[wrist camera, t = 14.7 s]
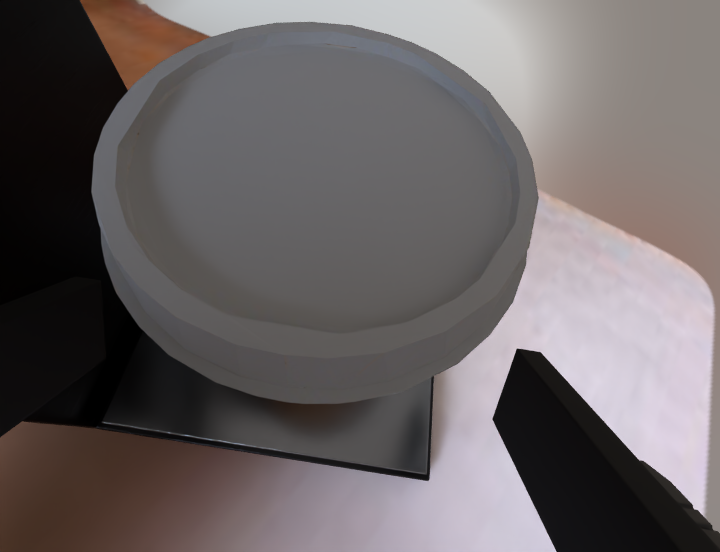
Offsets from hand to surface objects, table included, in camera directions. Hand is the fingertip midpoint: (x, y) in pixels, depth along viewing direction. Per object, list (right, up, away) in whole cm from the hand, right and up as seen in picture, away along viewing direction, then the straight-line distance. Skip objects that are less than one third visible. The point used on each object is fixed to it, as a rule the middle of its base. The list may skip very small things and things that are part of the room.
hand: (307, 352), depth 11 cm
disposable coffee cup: (0, 0, +7) cm, 7 cm away
